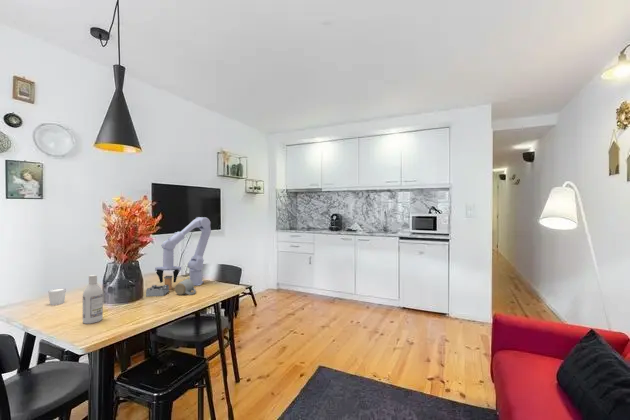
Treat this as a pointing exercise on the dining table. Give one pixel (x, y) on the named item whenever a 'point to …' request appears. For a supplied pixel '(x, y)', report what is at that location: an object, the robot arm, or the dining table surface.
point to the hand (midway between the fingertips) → (168, 282)
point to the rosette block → (157, 290)
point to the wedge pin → (168, 281)
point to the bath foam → (92, 301)
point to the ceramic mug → (185, 287)
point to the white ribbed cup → (57, 296)
